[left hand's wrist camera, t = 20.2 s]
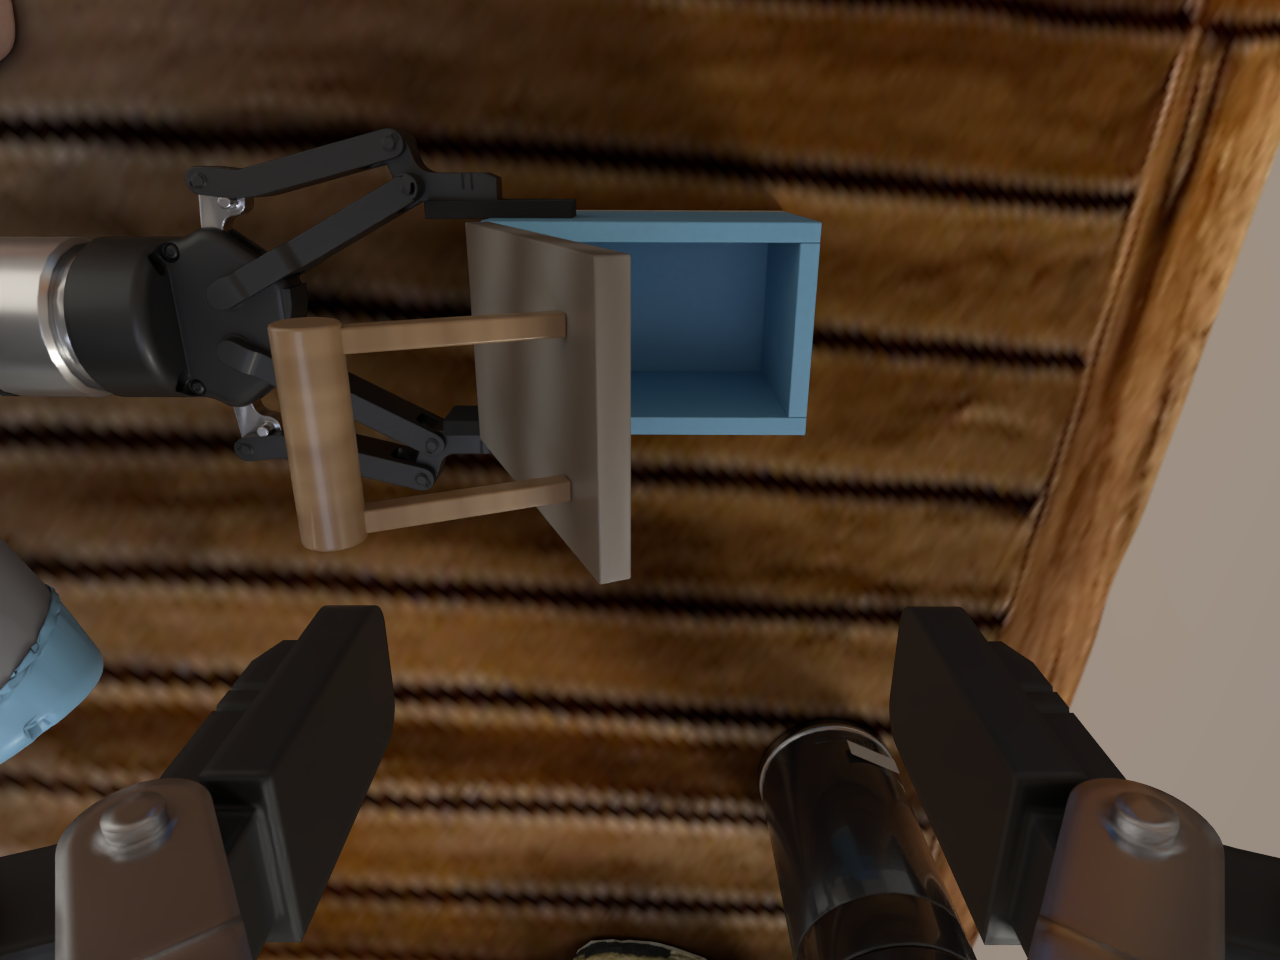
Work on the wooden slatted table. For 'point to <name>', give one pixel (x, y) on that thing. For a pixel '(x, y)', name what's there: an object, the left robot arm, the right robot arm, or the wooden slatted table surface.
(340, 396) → the lid
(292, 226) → the wooden slatted table surface
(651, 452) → the wooden slatted table surface
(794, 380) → the chest
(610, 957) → the fossil
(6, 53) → the anatomical model
